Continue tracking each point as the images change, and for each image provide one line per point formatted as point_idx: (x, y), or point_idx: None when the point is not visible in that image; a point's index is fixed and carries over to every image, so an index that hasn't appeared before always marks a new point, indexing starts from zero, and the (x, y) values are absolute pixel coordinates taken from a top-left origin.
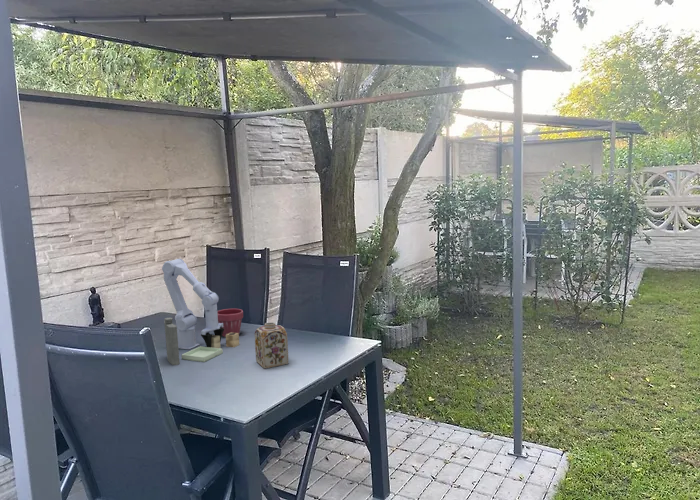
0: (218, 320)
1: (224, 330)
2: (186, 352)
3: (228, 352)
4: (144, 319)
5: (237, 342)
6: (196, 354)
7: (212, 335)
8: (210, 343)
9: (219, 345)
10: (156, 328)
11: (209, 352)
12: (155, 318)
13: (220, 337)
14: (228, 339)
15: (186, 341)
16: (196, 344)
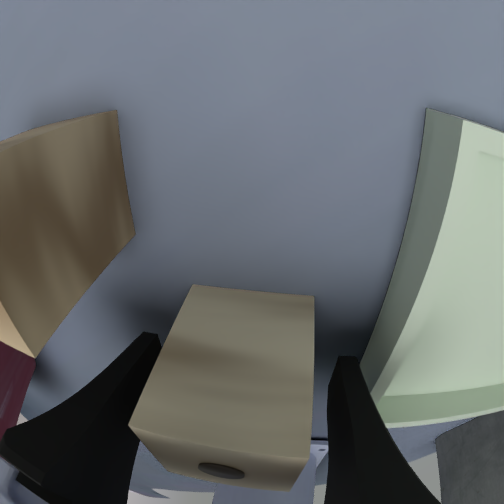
0: None
1: (9, 381)
2: (500, 410)
3: (368, 32)
4: (131, 489)
5: (21, 135)
6: (486, 359)
7: (181, 471)
8: (367, 402)
9: (202, 308)
10: (154, 488)
11: (456, 291)
12: None
13: (113, 386)
14: (58, 254)
15: (310, 492)
16: None
